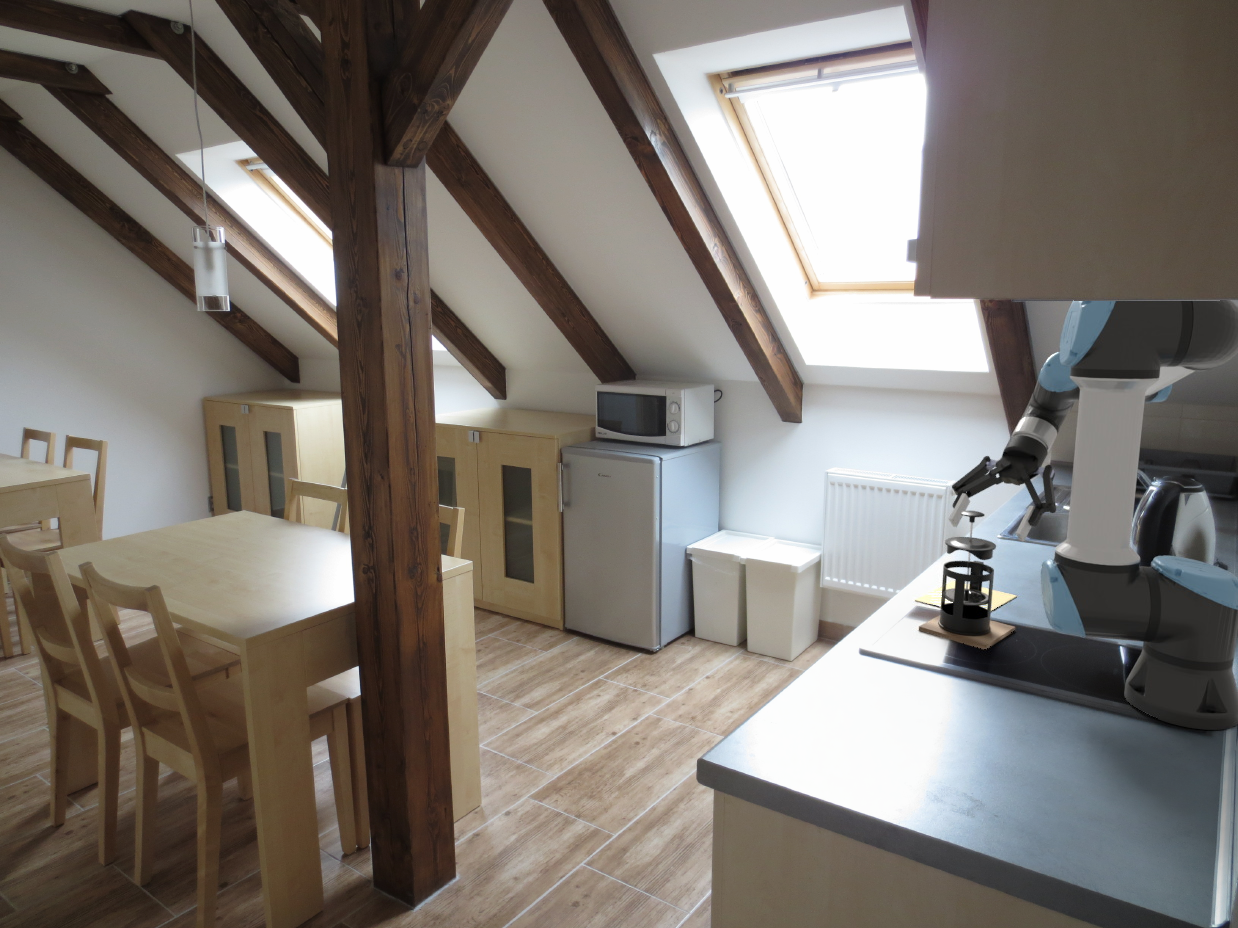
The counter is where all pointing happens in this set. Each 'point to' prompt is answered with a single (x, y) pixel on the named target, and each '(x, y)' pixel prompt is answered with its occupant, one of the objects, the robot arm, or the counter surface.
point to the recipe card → (997, 596)
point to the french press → (966, 605)
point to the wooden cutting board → (981, 642)
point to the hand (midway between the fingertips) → (984, 530)
